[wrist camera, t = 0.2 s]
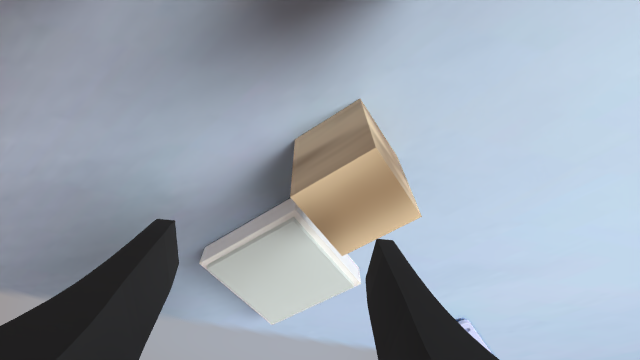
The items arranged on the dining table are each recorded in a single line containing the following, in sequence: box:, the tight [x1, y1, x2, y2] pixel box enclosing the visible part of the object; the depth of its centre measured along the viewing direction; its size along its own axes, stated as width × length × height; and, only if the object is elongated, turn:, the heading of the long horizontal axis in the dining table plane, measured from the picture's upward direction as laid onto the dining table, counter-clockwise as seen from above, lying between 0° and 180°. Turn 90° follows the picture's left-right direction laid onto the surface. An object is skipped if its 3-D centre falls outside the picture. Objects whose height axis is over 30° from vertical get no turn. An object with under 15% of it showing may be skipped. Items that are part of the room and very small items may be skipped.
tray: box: [199, 198, 361, 325], centre depth 26 cm, size 8×8×2 cm
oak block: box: [290, 99, 422, 256], centre depth 20 cm, size 4×4×6 cm
